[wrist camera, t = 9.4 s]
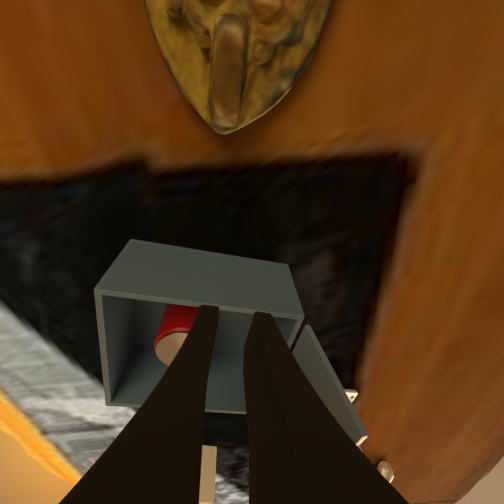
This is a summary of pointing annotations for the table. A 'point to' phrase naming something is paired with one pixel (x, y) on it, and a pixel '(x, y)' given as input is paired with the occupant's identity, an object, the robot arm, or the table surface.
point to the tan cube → (208, 475)
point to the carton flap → (327, 384)
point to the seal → (236, 52)
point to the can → (174, 331)
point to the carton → (189, 294)
